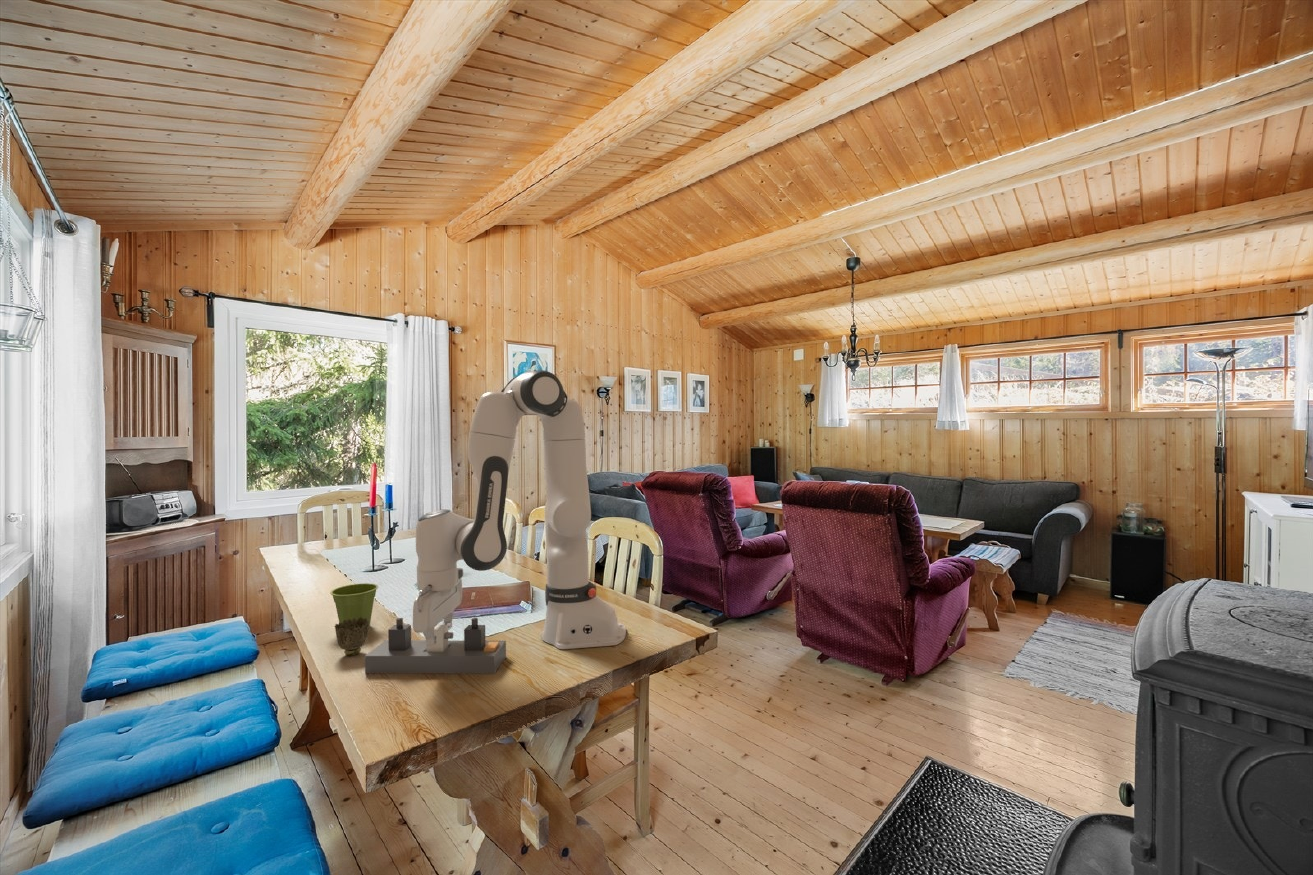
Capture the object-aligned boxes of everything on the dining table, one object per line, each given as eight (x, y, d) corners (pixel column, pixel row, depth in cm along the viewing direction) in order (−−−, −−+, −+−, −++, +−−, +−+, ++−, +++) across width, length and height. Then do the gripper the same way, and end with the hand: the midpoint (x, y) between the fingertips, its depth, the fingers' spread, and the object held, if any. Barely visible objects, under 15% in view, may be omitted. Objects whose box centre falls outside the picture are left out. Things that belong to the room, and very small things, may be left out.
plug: (455, 657, 133) (454, 624, 133) (450, 663, 130) (449, 629, 130) (432, 657, 133) (431, 624, 133) (426, 663, 130) (426, 629, 130)
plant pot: (388, 624, 158) (387, 585, 158) (350, 639, 147) (349, 597, 147) (360, 618, 163) (359, 580, 163) (321, 632, 152) (320, 592, 152)
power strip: (506, 656, 136) (505, 612, 135) (494, 673, 127) (493, 625, 126) (385, 656, 136) (384, 612, 136) (365, 673, 127) (364, 625, 127)
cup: (331, 654, 138) (331, 622, 138) (363, 645, 143) (363, 614, 143) (340, 663, 133) (339, 630, 133) (373, 653, 138) (372, 622, 138)
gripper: (432, 592, 121) (434, 655, 121) (465, 567, 141) (468, 620, 142) (403, 593, 121) (406, 655, 121) (441, 568, 141) (443, 621, 142)
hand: (439, 636), depth 131 cm, fingers open, 8 cm apart
